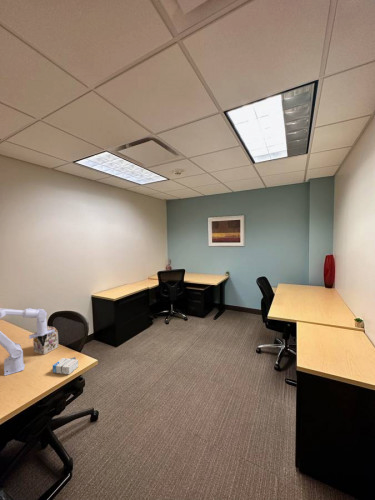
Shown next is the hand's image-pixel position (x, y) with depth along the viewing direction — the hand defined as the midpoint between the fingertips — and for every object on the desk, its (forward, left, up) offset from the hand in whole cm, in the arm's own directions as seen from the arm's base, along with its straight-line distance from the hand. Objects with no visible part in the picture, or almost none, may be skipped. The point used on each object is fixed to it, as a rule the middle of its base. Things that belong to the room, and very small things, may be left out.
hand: (43, 345), depth 141 cm
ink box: (+8, -18, -8) cm, 21 cm away
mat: (+15, -17, -10) cm, 25 cm away
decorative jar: (+1, +15, -11) cm, 19 cm away
